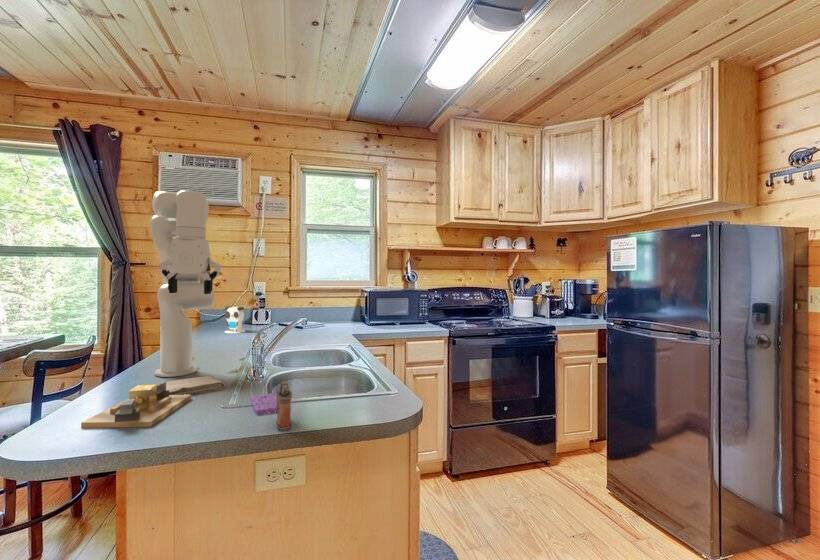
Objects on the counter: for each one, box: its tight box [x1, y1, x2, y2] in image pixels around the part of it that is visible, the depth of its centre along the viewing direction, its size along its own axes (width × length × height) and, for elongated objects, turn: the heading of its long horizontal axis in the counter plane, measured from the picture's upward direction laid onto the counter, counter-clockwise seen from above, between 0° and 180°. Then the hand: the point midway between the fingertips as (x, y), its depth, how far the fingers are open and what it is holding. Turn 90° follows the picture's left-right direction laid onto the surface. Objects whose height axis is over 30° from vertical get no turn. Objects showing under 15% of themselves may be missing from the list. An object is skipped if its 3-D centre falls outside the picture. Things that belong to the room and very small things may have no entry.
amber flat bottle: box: [275, 381, 293, 433], centre depth 93 cm, size 8×3×10 cm, turn 21°
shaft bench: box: [80, 381, 192, 429], centre depth 100 cm, size 20×15×5 cm
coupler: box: [128, 383, 157, 410], centre depth 100 cm, size 9×4×5 cm, turn 15°
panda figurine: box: [224, 305, 246, 334], centre depth 234 cm, size 12×11×15 cm
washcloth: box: [165, 375, 226, 395], centre depth 120 cm, size 12×18×3 cm, turn 135°
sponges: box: [249, 392, 277, 415], centre depth 107 cm, size 7×13×2 cm, turn 28°
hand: (190, 293), depth 115 cm, fingers open, 9 cm apart
